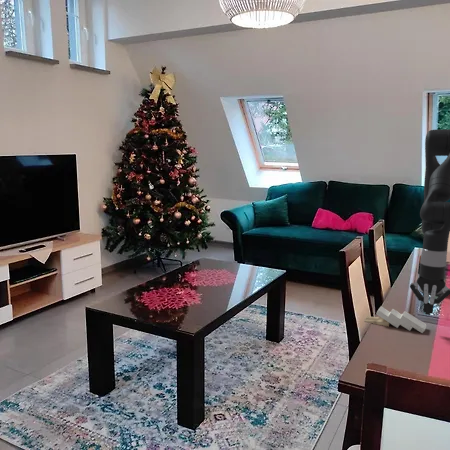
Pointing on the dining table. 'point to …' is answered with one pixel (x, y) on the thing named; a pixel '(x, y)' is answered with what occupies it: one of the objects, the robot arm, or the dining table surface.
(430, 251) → the robot arm
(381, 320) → the domino
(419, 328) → the domino
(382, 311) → the domino
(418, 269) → the battery
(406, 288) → the dining table surface
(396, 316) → the domino
